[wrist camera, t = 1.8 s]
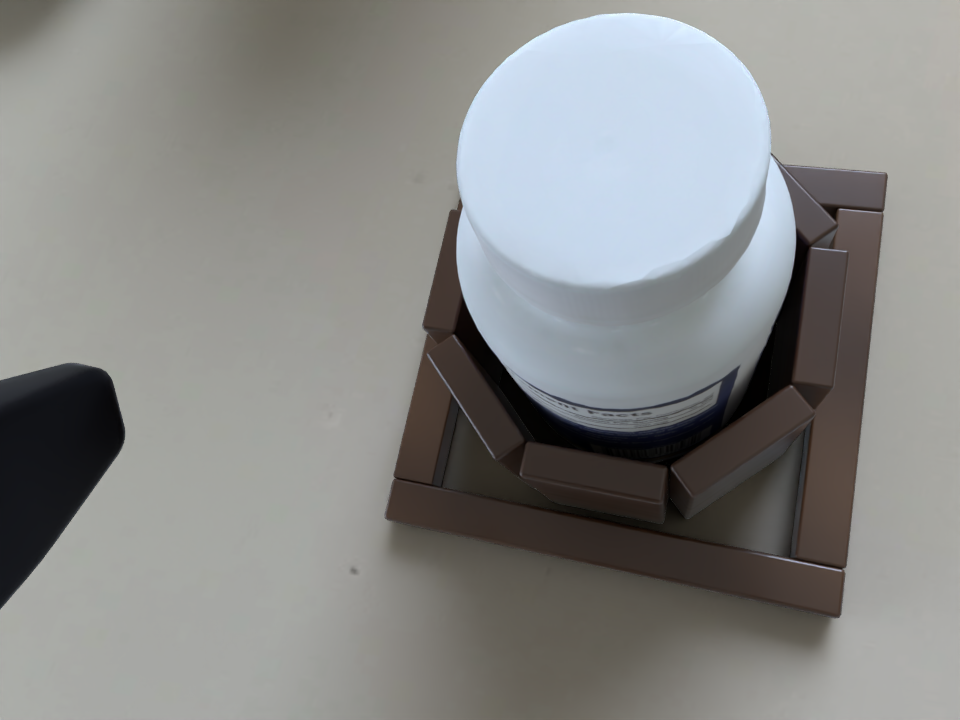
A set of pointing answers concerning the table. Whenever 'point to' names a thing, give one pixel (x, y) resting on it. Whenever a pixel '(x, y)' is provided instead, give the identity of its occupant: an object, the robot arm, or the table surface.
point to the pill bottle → (624, 231)
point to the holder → (704, 470)
